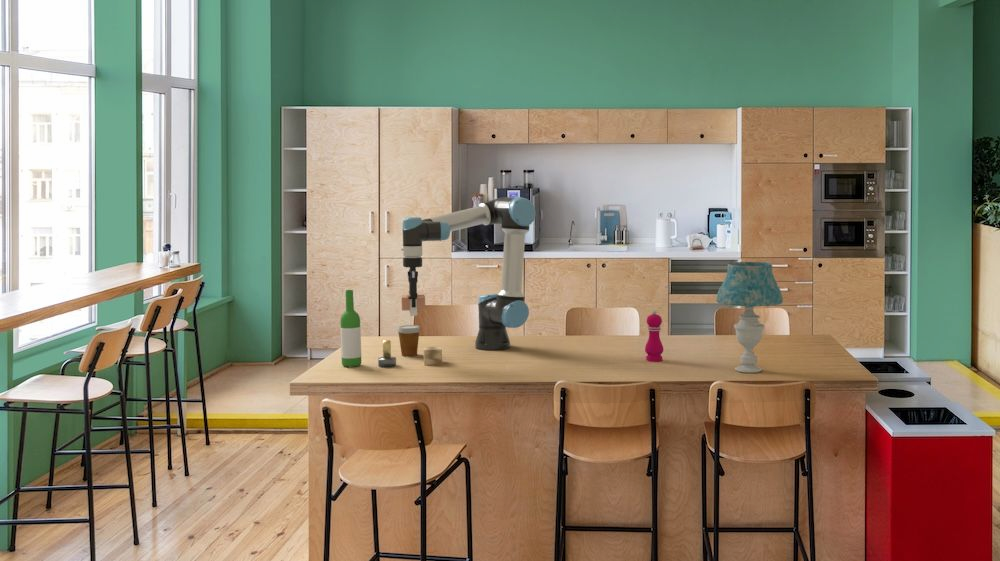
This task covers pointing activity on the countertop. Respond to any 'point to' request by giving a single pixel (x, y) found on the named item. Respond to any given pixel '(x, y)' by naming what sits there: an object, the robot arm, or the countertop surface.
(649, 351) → the pepper mill
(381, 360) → the light bulb
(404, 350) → the disposable coffee cup
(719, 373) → the countertop surface
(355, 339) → the wine bottle
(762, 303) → the table lamp
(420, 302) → the square frame block
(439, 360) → the stand
